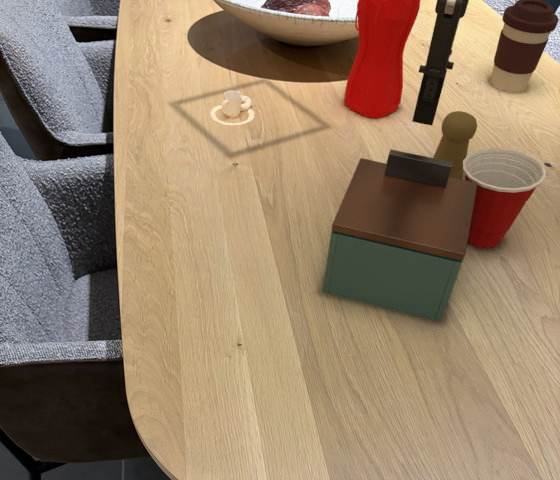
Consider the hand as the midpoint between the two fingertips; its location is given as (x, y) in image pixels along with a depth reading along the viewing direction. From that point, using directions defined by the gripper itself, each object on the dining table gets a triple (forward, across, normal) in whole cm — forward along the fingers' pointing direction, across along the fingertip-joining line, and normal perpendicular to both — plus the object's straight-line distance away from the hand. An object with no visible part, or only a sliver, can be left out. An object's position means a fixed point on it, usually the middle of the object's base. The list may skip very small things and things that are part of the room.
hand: (423, 120), depth 81 cm
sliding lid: (+5, +14, +1) cm, 15 cm away
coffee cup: (+15, -52, +13) cm, 56 cm away
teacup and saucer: (+15, -19, -31) cm, 39 cm away
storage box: (+15, +14, +1) cm, 20 cm away
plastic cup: (+15, +2, +12) cm, 19 cm away
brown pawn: (+15, -12, +5) cm, 20 cm away
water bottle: (+15, -32, -12) cm, 37 cm away
